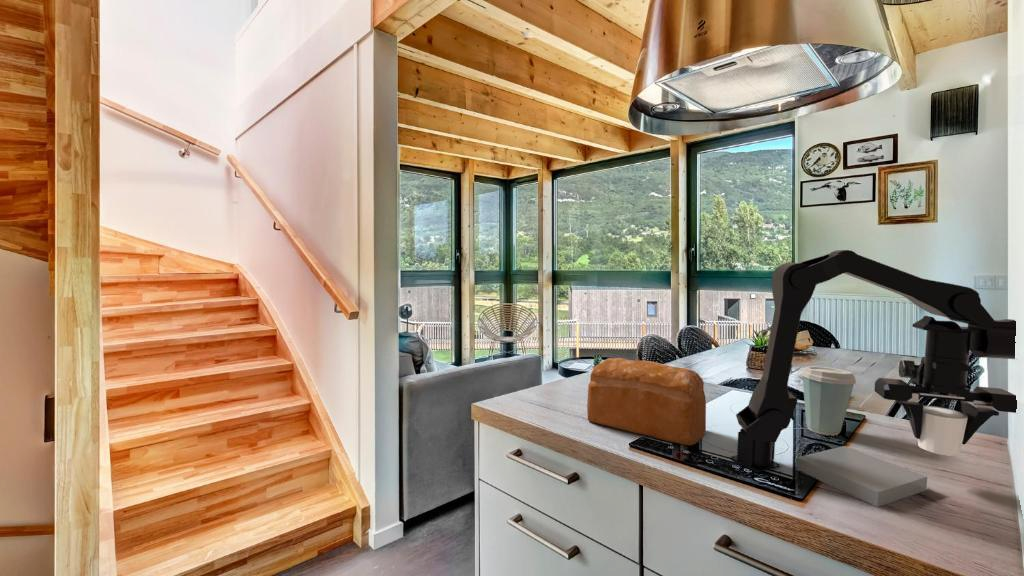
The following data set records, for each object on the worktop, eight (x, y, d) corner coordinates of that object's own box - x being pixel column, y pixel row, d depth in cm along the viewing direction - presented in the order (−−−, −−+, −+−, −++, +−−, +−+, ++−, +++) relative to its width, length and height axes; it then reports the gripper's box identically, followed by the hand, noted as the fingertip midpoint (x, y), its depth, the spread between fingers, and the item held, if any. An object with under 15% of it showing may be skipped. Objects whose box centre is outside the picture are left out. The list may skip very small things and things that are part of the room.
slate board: (877, 506, 76) (878, 492, 76) (796, 470, 89) (796, 457, 89) (926, 490, 82) (927, 476, 82) (843, 457, 95) (844, 445, 95)
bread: (606, 407, 125) (607, 350, 124) (709, 430, 109) (712, 364, 108) (581, 422, 114) (583, 359, 113) (692, 450, 98) (695, 377, 97)
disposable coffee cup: (792, 420, 116) (795, 361, 115) (843, 425, 112) (846, 364, 111) (804, 436, 106) (808, 371, 105) (860, 442, 102) (865, 375, 101)
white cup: (975, 459, 80) (979, 419, 80) (929, 455, 82) (932, 416, 81) (947, 443, 87) (950, 406, 86) (905, 440, 88) (907, 403, 88)
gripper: (989, 351, 87) (981, 432, 88) (867, 343, 94) (862, 418, 95) (1027, 364, 77) (1018, 456, 78) (888, 354, 84) (882, 438, 85)
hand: (939, 440), depth 84 cm, fingers closed on white cup, 6 cm apart
